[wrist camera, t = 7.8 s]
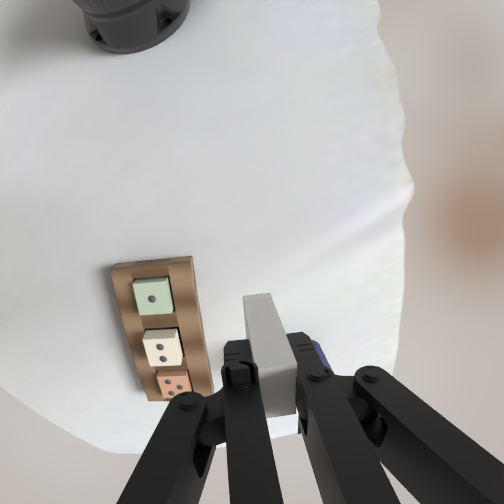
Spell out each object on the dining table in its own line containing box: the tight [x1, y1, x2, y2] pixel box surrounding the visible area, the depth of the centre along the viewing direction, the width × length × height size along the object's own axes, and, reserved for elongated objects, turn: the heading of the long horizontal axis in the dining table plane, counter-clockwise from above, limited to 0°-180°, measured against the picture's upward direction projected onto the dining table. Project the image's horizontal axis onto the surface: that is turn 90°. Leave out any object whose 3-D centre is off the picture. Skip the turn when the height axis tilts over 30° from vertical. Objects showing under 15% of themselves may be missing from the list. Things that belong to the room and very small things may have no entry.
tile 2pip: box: [143, 329, 183, 366], centre depth 39 cm, size 4×4×3 cm
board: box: [110, 256, 214, 401], centre depth 42 cm, size 23×11×3 cm, turn 4°
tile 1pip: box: [133, 275, 174, 315], centre depth 38 cm, size 4×4×3 cm
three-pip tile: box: [157, 369, 192, 398], centre depth 42 cm, size 4×4×3 cm
